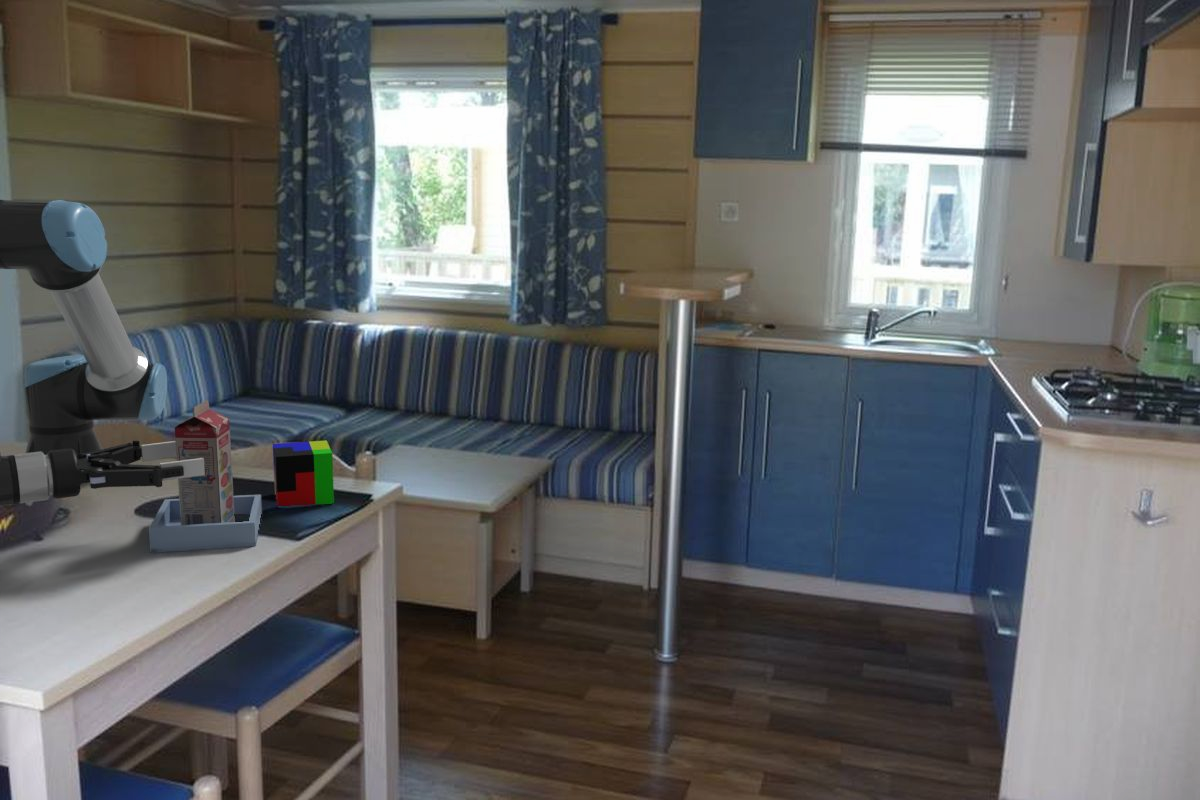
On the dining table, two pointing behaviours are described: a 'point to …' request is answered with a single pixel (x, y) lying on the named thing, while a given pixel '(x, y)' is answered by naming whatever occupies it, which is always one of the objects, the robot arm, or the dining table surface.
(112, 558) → the dining table surface
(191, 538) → the bin
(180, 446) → the juice carton
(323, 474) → the puzzle toy
